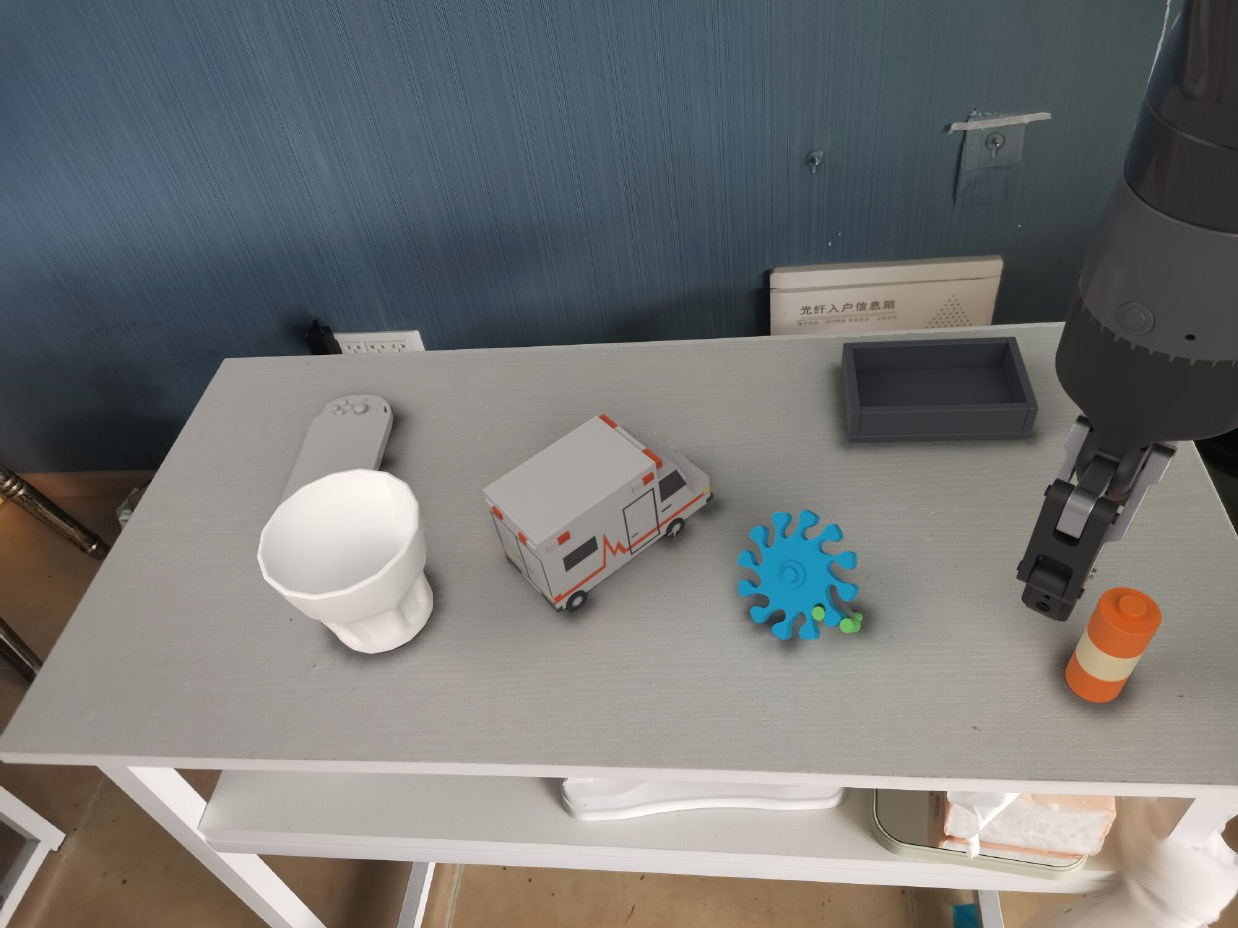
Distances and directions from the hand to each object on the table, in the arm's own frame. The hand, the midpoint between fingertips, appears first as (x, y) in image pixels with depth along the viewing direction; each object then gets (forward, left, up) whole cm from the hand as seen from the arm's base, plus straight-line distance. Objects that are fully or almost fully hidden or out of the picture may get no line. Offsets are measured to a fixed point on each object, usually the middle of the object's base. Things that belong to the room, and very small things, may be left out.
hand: (1079, 549), depth 45 cm
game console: (+61, +10, -22) cm, 65 cm away
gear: (+17, -2, -22) cm, 28 cm away
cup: (+45, +18, -22) cm, 53 cm away
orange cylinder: (-3, -8, -22) cm, 24 cm away
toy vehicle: (+34, +1, -22) cm, 40 cm away
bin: (+19, -28, -22) cm, 40 cm away
